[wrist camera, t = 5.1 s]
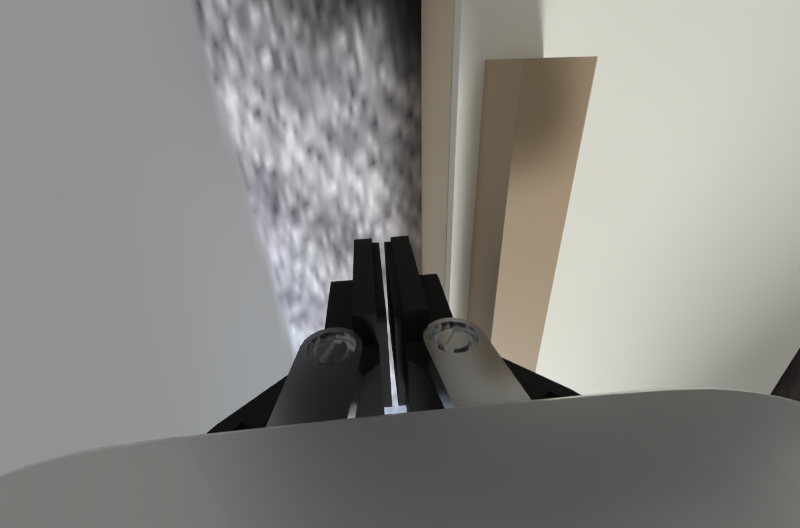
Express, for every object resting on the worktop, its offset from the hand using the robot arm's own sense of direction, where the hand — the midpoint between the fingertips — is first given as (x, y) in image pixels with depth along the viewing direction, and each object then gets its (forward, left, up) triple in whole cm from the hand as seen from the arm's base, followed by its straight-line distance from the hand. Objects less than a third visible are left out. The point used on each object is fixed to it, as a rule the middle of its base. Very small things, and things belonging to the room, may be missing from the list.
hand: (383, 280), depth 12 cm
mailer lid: (-10, 0, -2) cm, 11 cm away
